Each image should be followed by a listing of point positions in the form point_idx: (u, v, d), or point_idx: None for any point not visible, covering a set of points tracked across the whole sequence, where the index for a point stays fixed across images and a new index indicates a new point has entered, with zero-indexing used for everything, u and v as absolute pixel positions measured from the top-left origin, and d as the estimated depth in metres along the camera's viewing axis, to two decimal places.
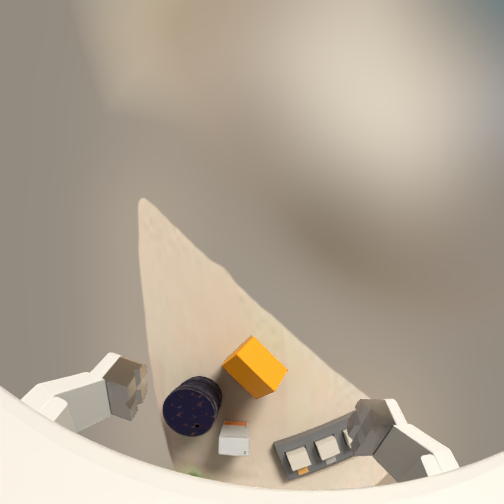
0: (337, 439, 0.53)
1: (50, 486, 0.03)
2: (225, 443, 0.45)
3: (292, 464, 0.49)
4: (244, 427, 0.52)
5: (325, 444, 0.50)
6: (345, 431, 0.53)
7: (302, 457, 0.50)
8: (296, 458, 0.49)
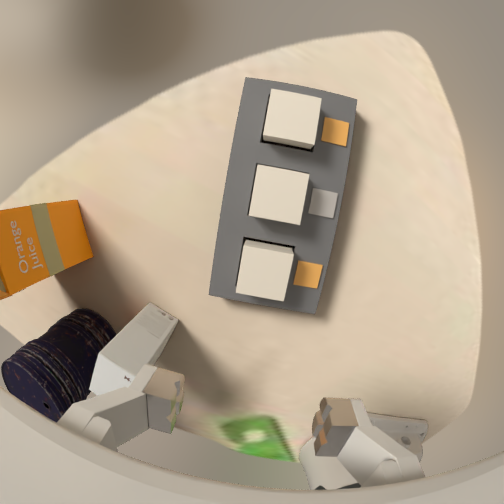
0: (280, 162, 0.25)
1: (50, 486, 0.03)
2: (101, 390, 0.21)
3: (263, 292, 0.25)
4: None
5: (257, 195, 0.24)
6: None
7: (258, 263, 0.25)
8: (252, 277, 0.25)
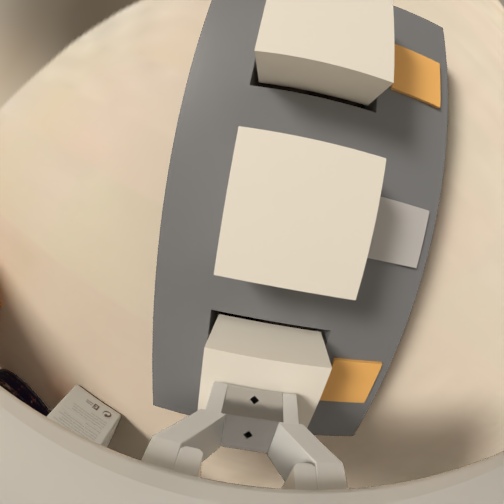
0: (299, 130, 0.10)
1: (50, 486, 0.03)
2: None
3: None
4: None
5: (238, 217, 0.08)
6: None
7: (242, 385, 0.09)
8: None
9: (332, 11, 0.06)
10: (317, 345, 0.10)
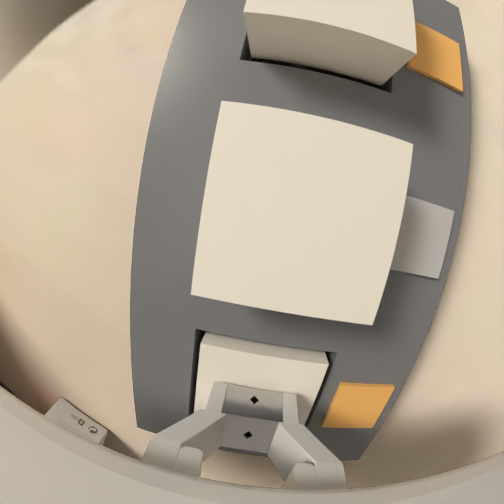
0: (300, 111, 0.08)
1: (50, 486, 0.03)
2: None
3: None
4: None
5: (220, 220, 0.06)
6: None
7: (238, 382, 0.09)
8: None
9: None
10: None
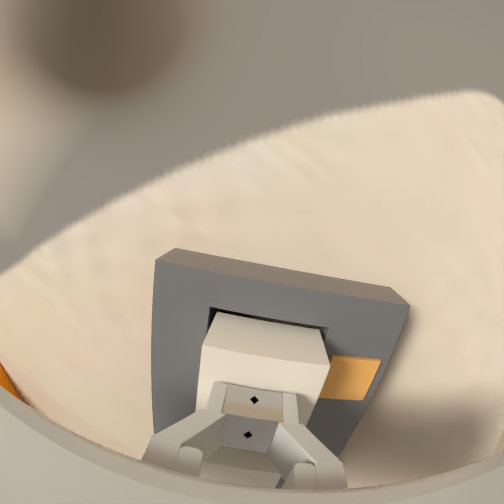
0: None
1: (50, 486, 0.03)
2: None
3: None
4: None
5: None
6: None
7: None
8: None
9: None
10: None
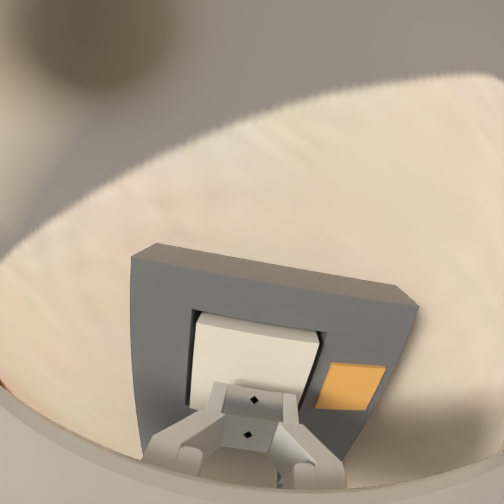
0: None
1: (50, 486, 0.03)
2: None
3: None
4: None
5: None
6: None
7: None
8: None
9: (248, 380, 0.10)
10: None
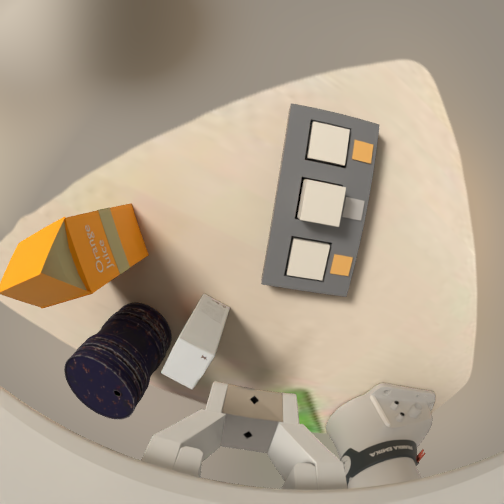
0: (320, 176, 0.31)
1: (50, 486, 0.03)
2: (174, 371, 0.28)
3: (307, 274, 0.34)
4: None
5: (307, 204, 0.30)
6: (306, 155, 0.32)
7: (304, 252, 0.33)
8: (300, 263, 0.34)
9: (329, 142, 0.30)
10: (324, 242, 0.34)
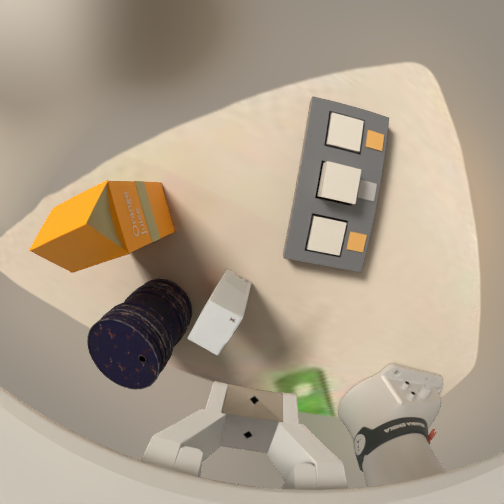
0: (338, 160, 0.34)
1: (50, 486, 0.03)
2: (201, 336, 0.30)
3: (326, 249, 0.36)
4: None
5: (327, 182, 0.33)
6: (325, 142, 0.35)
7: (323, 228, 0.36)
8: (319, 238, 0.36)
9: (346, 131, 0.33)
10: (341, 221, 0.37)
